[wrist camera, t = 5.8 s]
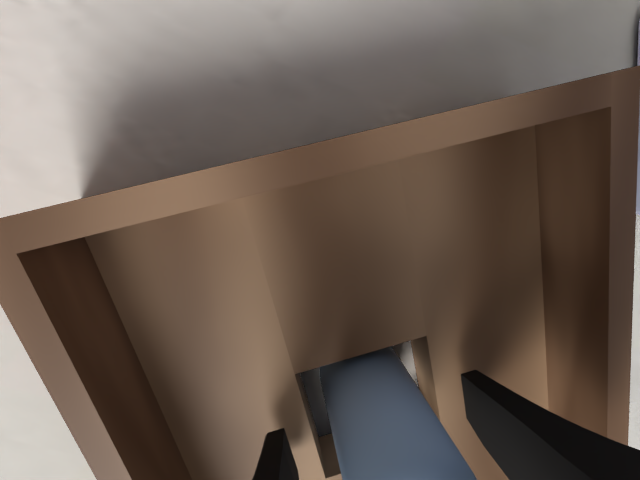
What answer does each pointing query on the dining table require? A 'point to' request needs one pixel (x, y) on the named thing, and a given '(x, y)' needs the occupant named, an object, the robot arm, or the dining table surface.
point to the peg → (386, 423)
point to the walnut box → (341, 283)
